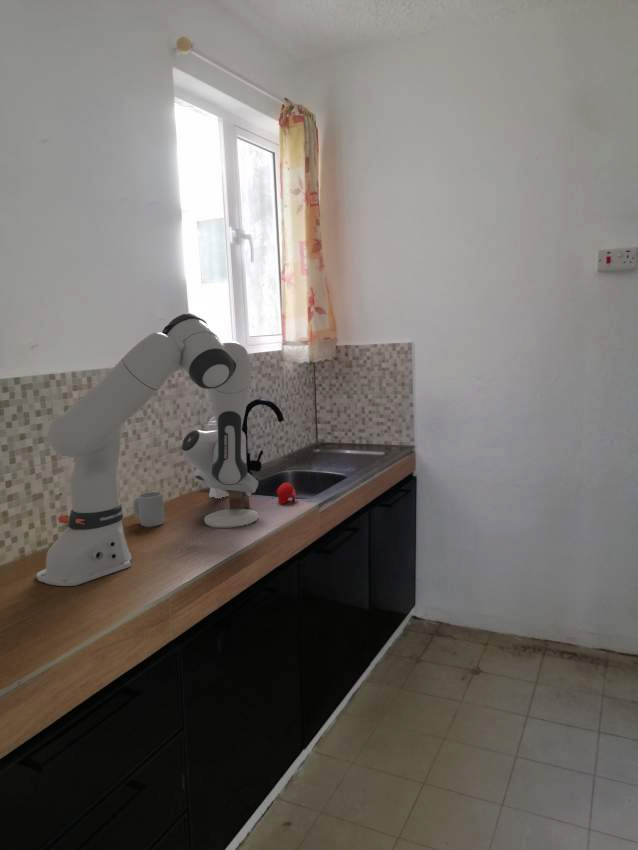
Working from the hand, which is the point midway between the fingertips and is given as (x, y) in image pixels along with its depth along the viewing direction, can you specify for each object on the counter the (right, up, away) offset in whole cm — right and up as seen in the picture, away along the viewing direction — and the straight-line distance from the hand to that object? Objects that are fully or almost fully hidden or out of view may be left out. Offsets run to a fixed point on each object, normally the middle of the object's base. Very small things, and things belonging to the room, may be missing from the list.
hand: (240, 493), depth 201 cm
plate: (-1, -6, -13) cm, 15 cm away
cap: (+15, -3, +5) cm, 16 cm away
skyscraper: (-9, -3, +17) cm, 19 cm away
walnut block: (0, -5, 0) cm, 5 cm away
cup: (-26, -8, -12) cm, 30 cm away
